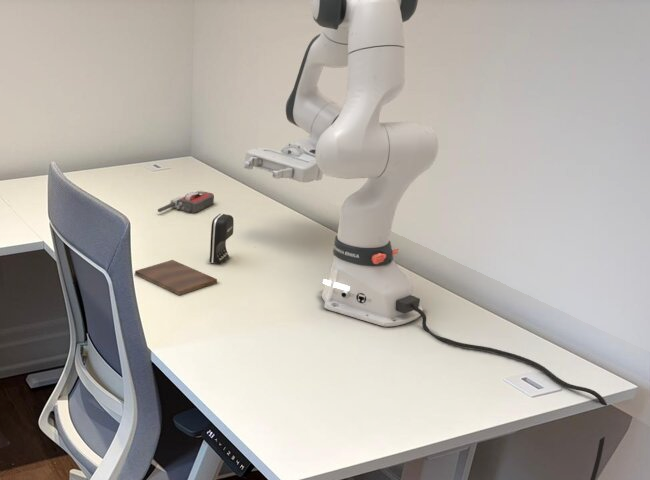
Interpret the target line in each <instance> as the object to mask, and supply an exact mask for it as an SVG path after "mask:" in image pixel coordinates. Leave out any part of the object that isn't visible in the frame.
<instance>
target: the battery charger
mask: <svg viewBox="0 0 650 480" xmlns="http://www.w3.org/2000/svg"><path fill="white" fill-rule="evenodd" d="M234 221H235V220H234V217H233V216H232V214H231V215H230V214H225V213H218V214H217V215H216V216H215V217H214V218H213V219H212V221H211V226H210V227H211V228H210V229H211V230H210V245H209V246H210V247H209V263H211V264H216V265H217V264H219V265H220V264H223V263H224V262H226V260H227V259H228V258H229V257H230V255H229V253H228V250H227V244H226V243H227V240H228V239H229V238H230V237H232V236H233V235H234V226H235V225H234Z"/></svg>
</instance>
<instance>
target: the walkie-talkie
mask: <svg viewBox="0 0 650 480" xmlns="http://www.w3.org/2000/svg"><path fill="white" fill-rule="evenodd" d="M214 200H215V194H214V193H212V192H209V191H204V190H197V191H191V192H189V193H187V194H185V195H184V196H178V197H176V198H174V199H171V200H170V203H169V204H166V205H164V206H162V207H160V208H158V209H157V212H158V213H161V212H165V211H167V210H168V209H171V208H175V209H176V210H178V211H182V212H186V213H191V214H195V213H197V212H199V211H202V210H204V209H205V208H208V207H211V206H212V205H214V204H215V203H214V202H215V201H214Z"/></svg>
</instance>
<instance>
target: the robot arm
mask: <svg viewBox="0 0 650 480" xmlns="http://www.w3.org/2000/svg"><path fill="white" fill-rule="evenodd" d="M418 3H419V0H310V10H311V13H312V18H313V21H314V22H315V23H316V24H317V25H318V26H320V27H322V29H321V32H320V33H319V34H317V35H316V36H314V37H312V39H311V41H310V42H309V43H308V45H307V47H306V50H305V52H304V54H303V58H302V61H301V63H300V67H299V70H298V73H297V76H296V79H295V83H294V85H293V88H292V90H291V93H290V94H289V96H288V98H287V100H286V103H285V117H286V120H287V121H288V122H289V123H291V124H293V125H294V126H296V127H298V128H300V129H302V131H304V132H306V133H308V134H309V135H308V137H307V138H305V139H300V140H299V139H298V140H296V141H292V142H289V143H286V144H285V145H284V146H283V147H282V148H281V150H279V149H275V148H272V147H268V146H267V147H266V146H262V147H256V148H251V149H247V150H246V151H245V155H244V163H243V168H244V169H245V170H249V171H251V170H253V169H254V168H255V169H259V170H261V171H264V172H267V173H271V174H272V178H274V179H277V180H280V179H290V180H292V181H297V182H299V183H311V182H314V181H316V182H317V181H321V180H322V179H323V175H324V176H326V177H331V178H336V179H344V180H353V179H354V180H355V179H367V180H366V181H365V183H364V184H363V185H362V187H360V188H359V189H358V190H356V191H355V192H353V193H351V194H350V195H348V196H347V197H346V198H345V199H344V201H343V203H342V205H341V207H340V214H339V222H338V227H337V228H338V229H337V235H336V236H335V237H334V242H333V248H332V254H333V258H332V263H331V268H330V272H329V275H328V278H327V279H325V278H323V281H322V284H324V285H325V286H324V289H323V290H322V293H321V299H322V300H323V302H324V305H323V308H324V309H325V310H328V311H332V312H334V313H339V314H341V315H345V316H348V317H351V318H354V319H358V320H361V321H364V322H367V323H371V324H374V325H378V326H380V327H387V328H389V327H398V326H401V325H405V324H409V323H410V322H413V321H415V320H417V319H419V317H421V318H422V319H421V325H422V328H423V330H424V331H425V332H426V333H428V334H429V335H430V336H432V337H433V338H435V340H438V341H441V342H444V343H447V344H450V345H454V346H457V347H460V348H467V349H473V350H479V351H486V352H490V353H493V354H498V355H502V356H505V357H509V358H512V359H516V360H519V361H521V362H524V363H526V364H529V365H530V366H533V367H535V368H537V369H539V370H540V371H542V372H543V373H545V375H547V376H548V377H549V378H551V379H552V380H553V381H554V382H556V383H557V384H559V385H561V386H563V387H565V388H568V389H571V390H575V391H580V392H583V393H587V394H590V395H592V396H593V397H595V399H597V400H598V401H599V403H600V404H601V405H603V406H608V404H607V401H606V399H605V398H604V397H603V396H602V395H601V394H600V393H598V392H597V391H595V390H594V389H591V388H587V387H584V386H580V385H575V384H571V383H569V382H566V381H564V380H563V379H561V378H559V377H558V376H556V375H555V374H554V373H553V372H551V371H550V370H549V369H547V368H546V367H545V366H543V365H542V364H540V363H538V362H536V361H534V360H531V359H530V358H527V357H525V356H521V355H518V354H516V353H512V352H509V351H505V350H502V349H501V350H500V349H497V348H494V347H489V346H488V347H487V346H483V345H477V344H471V343H464V342H459V341H456V340H454V339H450V338H447V337H443V336H440V335H437V334H435V333H433V332H432V331H431V330H430V329H429V327H428V326H427V315H426V314H425V313H424V311H423V306H422V305H420V303H421V298H419V297H416V296H415V289H414V284H413V283H412V281H410V279H409V278H408V276H406V274H405V273H404V272H403V271H402V269H401V268H400V267H399V266H398V264H397V263H396V262H395V261H394V256H395V255H397V254H399V250H400V248H395V249H393V248H392V243H391V241H390V237H391V232H392V228H393V222H394V218H395V214H396V211H397V208H398V205H399V203H400V201H401V199H402V197H403V196H404V194H405V192H406V191H407V190H408V188H409V187H410V186H411V185H412V183H413V182H414V181H415V180H416V179H417V178H419V176H421V175H422V174H423V173H425V172H426V171H428V170H429V169H430V168H431V167H432V165H433V164H434V162H435V161H436V159H437V157H438V152H439V141H438V137H437V134H436V132H435V130H434V129H433V128H432V127H431V126H430V125H428V124H425V123H424V124H423V123H419V122H413V121H390V122H380V113H381V110H382V109H383V107H384V106H385V105H387V104H388V103H390V102H392V101H394V100H395V99H396V98H397V97H399V95H400V94H401V92H402V91H403V88H404V86H405V31H404V23H405V22H408V21H409V20H410V19H411V18H412V17H413V15H414V14H415V12H416V10H417V7H418ZM324 67H325V68H331V69H344V68H347V83H346V84H347V85H346V86H347V87H346V93H345V99H344V102H343V105H340V104H339V103H338V102H337V101H334V100H333V99H331V98H329V97H328V96H327V95H325V94H324V93H322V91H321V90H320V89H319V87H318V83H319V80H320V77H321V74H322V70H323V68H324ZM605 439H606V436H603V437H601V438H600V439H599V440H598V441H599V442H598V446H597V451H596V452H597V453H596V457H595V461H594V465H593V469H592V472H591V476H590V480H596V479H597V474H598V471H599V468H600V463H601V459H602V455H603V450H604V445H605Z"/></svg>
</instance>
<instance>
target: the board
mask: <svg viewBox="0 0 650 480" xmlns="http://www.w3.org/2000/svg"><path fill="white" fill-rule="evenodd" d="M134 275H135V276H137V277H139V278H142V279H143V280H145V281H147V282H150V283H152V284H154V285H156V286H158V287H160V288H162V289H164V290H167V291H169V292H171V293H172V294H175V295H177V296H182V295H185V294H187V293H191V292H194V291H197V290H199V289H203V288H206V287H209V286H211V285H215V284H217V283H218V278H215V277H213V276H211V275H209V274H206V273H205V272H202V271H199V270H197V269H196V268H192V267H190V266H188V265H185V264H183V263H181V262H178V261H176V260H174V259H170V260H167V261H164V262H160V263H157V264H153V265H150V266H146V267H144V268H140V269H138V270H135V271H134Z"/></svg>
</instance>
